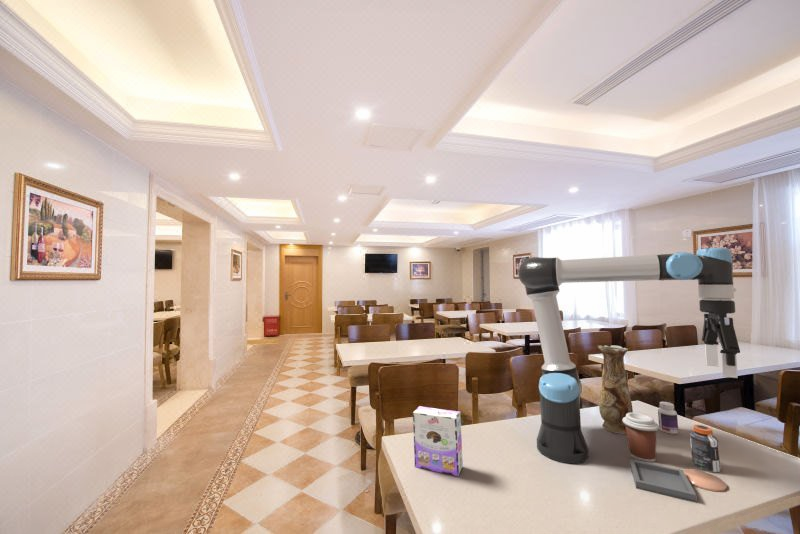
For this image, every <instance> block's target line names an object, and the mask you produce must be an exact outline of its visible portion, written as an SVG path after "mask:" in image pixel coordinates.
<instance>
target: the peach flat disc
mask: <svg viewBox="0 0 800 534" xmlns="http://www.w3.org/2000/svg"><path fill="white" fill-rule="evenodd" d="M682 470H683V471H684V473H685V475H686V477H687V479H688V481H689V483H690V484H691V486H694V487H696V488H700V489H703V490H706V491H710V492H716V493H717V492H718V493H719V492H724V491H726V490H727V484H726V482H725V481H724V480H722V479H721V478H719V477H718V476H717V475H714V474H711V473H710V472H709V473H708V472H707V471H704V470H703V471H702V470H700V469H694V468H692V469H691V468H684V469H682Z"/></svg>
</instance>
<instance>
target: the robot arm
mask: <svg viewBox="0 0 800 534" xmlns="http://www.w3.org/2000/svg"><path fill="white" fill-rule="evenodd" d="M733 264H734V262H733V257H732V251H731V249H729V248H726V247H713V248H712V247H711V248H710V247H709V248H700V249H697V250H696V254H693V253H691V252H687V251H685V252H683V251H681V252H676V253H665V254H647V255H634V256H633V255H628V256H627V255H626V256H611V257H597V258H596V257H595V258H580V259H578V258H577V259H575V258H574V259H560V258H559V257H541V256H540V257H538V256H533V257H529V258H527V259H525V260H524V261H523V262H521V264H520V265H519V266H518V270H517V273H518V274H517V275H518V279H519V280H520V281H519V282H521V284H523V286H524V288H525V293H526V296H527V297H529V299H531V301H532V302H531V303H532V306H533V311H534V316H535V322H536V327H537V330H538V331H537V332H538V336H539V342H540V346H541V350H542V354H543V360H544V362H543V365H541V373H542V375H541V377H540V378H539V382H538V389H539V402H540V403H539V404H540V421H541V422H540V423H541V424H540V427H539V431H538V433H537V437H536V448H537V450H538V451H539V453H541V454H542V455H543V456H545V457H547V458H549V459H551V460H554V461H557V462H561V463H564V464H565V463H566V464H580V463H582V464H583V463H585V462H586V461H588V460H589V459H590V451H589V446H588V444H587V441H586V438H585V436H584V433H583V430H582V425H581V424H582V422H581V421H582V420H581V407H580V406H581V394H582V392H583V391H582V389H583V385H582V381H581V380H580V377H579V374H578V369H577V366H576V364H575V363H573V362H572V360H571V358H570V354H569V350H568V345H567V341H566V335H565V332H564V330H565V329H564V326H563V322H562V321H563V320H562V317H561V316H562V315H561V314H560V313H561V312H560V309H559V303H558V299H557V295H558V294H559V292H560V286H561V285H562V284H564V283H565V284H568V283H569V284H570V283H571V284H572V283H601V282H603V283H605V282H635V281H636V282H639V281H642V282H644V281H661V282H662V281H663V282H664V281H688V280H689V281H690V280H691V281H697V283H698V285H697V286H698V288H697V289H698V297H699V299H700V300H699V301H698V302H699V304H698V305H699V310H700V312H701V313H704V314H703V319H704V320H703V326H702V327H703V328H702V337H701V341H702V342H703V343H704V349H705V350H704V352H705V353H704V355H705V365H706V367H708V366H709V367H719V353H720V354H721V363H722V364H721V365H722V377H724V378H733V379H738V377H739V376H738V365H737V364H738V360H737V354H740V353H741V350H740V347H739V342H738V338H737V334H736V330H735V327H734V319H733V317H728V315H727V314H735V313H736V302H735V301H734V300H733V299H734V298H735V292H736V291H737V288H734V273H733V272H734V271H733ZM718 339H719V342H718ZM719 343H720V344H719ZM719 345H720V346H721V350H720V351H719V352H718V349H719V348H718V346H719Z"/></svg>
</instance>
